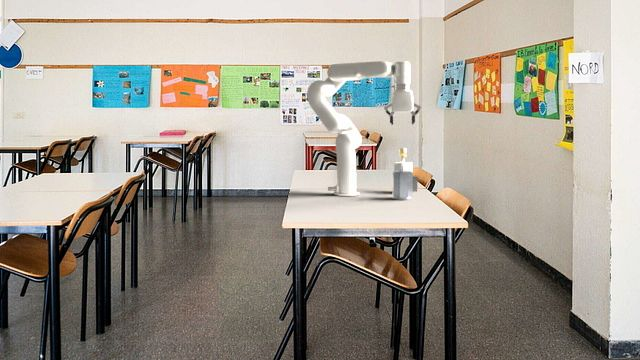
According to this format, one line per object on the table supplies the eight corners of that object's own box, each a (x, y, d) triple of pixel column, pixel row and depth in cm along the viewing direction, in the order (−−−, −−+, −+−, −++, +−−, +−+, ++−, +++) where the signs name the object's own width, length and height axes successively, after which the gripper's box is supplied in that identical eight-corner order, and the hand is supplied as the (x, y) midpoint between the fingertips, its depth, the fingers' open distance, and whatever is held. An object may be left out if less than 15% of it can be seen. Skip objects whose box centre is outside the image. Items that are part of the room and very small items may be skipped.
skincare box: (405, 194, 314) (405, 162, 312) (392, 193, 318) (393, 162, 316) (413, 192, 321) (413, 161, 319) (401, 191, 325) (401, 160, 323)
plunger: (396, 182, 296) (397, 148, 294) (395, 180, 302) (395, 147, 300) (409, 182, 296) (410, 148, 294) (407, 180, 302) (408, 147, 300)
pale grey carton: (393, 200, 295) (394, 172, 293) (391, 197, 304) (391, 170, 303) (418, 200, 295) (418, 172, 293) (415, 197, 304) (415, 170, 303)
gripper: (383, 88, 293) (384, 125, 295) (421, 87, 292) (421, 124, 294) (383, 88, 301) (384, 124, 303) (420, 88, 299) (420, 124, 301)
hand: (402, 124), depth 298 cm, fingers open, 9 cm apart
